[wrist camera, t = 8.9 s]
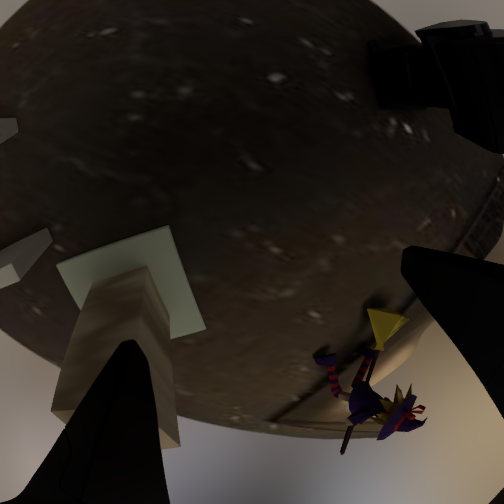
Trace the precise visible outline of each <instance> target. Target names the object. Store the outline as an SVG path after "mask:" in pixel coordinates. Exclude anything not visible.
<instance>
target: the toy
mask: <svg viewBox="0 0 504 504" xmlns="http://www.w3.org/2000/svg"><path fill="white" fill-rule="evenodd" d="M367 310H368V314H369V317H370V320H371V324H372V327H373V331H374V334H375V338H376V344H375V345H374V346H373V347H372V348H373V349H375V351H374V350H372V349H369V348H364V347H361V349H360V353H361V354H362V355H363V356H364V357H365V358H364V360H363V362H362V364H361V366H360V368H359V370H358V372H357V374H356V376H355V378H354V380H353V382H352V385H351V386H352V388H353V390H352V391H351V393H348V392H343V391H342V389H341V387H340V385H339V381H338V377H337V373H336V369H335V365H334V363H336V353H333V354H328V355H319V356H316V357H314V360H315V362H316V363H317V364H319V365H327V367H328V372H329V378H330V384H331V390H332V395H333V396H334V397H337V398H339V399H342V400H345V401H348V402H349V410H350V412H351V413H352V414H351V415H350V416H349V417H348V418H346V419H345V422H346V426H348V429H347V431H346V434H345V437H344V441H343V444H342V447H341V450H340V453H341V455H343V454H344V453H345V450H346V447H347V444H348V442H349V439H350V436H351V433H352V430H353V427H354V426H355V425H357V424H358V423H360V424H361V423H363V422H364V421H365V420H367V419H368V418H371V419H372V420H374V421H375V422H377V423H378V424H382V425H384V426H383V427H382V429H381V432H380V434H379V436H378V438H377V440H384V439H385V438H386V437H388V436H389V435H391V434H392V433H394V432H395V431H401V432H409V431H411V430H414V429H416V428H418V427H421V426H423V424H424V423H425V421H426V419H427V418H426V419H425V420H424V421H420V420H416V419H415V417H416V416H415V415H414V414H412V413H419V414H422V413H423V411H424V410H425V407H424V406H422V405H419V406H417V407H415V408H413V409H412V407H413V405H414V403H415V400H416V398H417V396H415V395H412V394H411V393H412V392H411V391H412V390H411V385H410V388H409V390H408V392H407V395H406V397H405V399H404V398H403V395H402V392H401V390H400V389H399V387H398V385H397V386H396V393H395V397H394V402H391V401H390V400H389V398H387V397H385V398H384V399H383V398H382V397H381V396H380V395H379V394H377V393H376V392H374V391H373V390H372V388H371V386H370V384H369V381H370V378H371V374H372V372H373V369H374V366H375V363H376V360H377V357H378V354H379V351H380V350H381V351H384V348H383V344H384V343H385V341H386V340H387V339H388V338H390V337H391V336H392V335H393V334H394V333H395V332H396V331H397V330H398V329H399V328H401V327H402V326H403V325H404V324H405V323H406V322H407V321H408V320H409V319H408V318H406V317H404V316H403V315H401V314H400V313H398V312H397V311H395V310H393V309H392V308H367ZM371 359H372V362H371V365H370V368H369V372H368V375H367V378H366V381H362V380H363V377H364V375H365V373H366V371H367V368H368V366H369V364H370V361H371ZM416 408H420V409H422V410H423V411H412V410H414V409H416ZM411 412H412V413H411ZM374 415H375V416H376V417H377V418H373V417H372V416H374ZM379 417H380V418H379Z"/></svg>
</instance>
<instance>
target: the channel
mask: <svg viewBox="0 0 504 504" xmlns="http://www.w3.org/2000/svg"><path fill="white" fill-rule="evenodd" d="M18 132H19V131H18V126H17V120H16V118H0V144H1V143H3V142H4V141H6V140H7V139H9V138H10V137H12V136H13V135H15V134H16V133H18ZM52 242H53V240H52V238H51V235H50V233H49V230H48V228H45V229H43V230H41V231H38V232H36V233H34V234H32V235H30V236H28V237H26V238H24V239H22V240H20V241H18V242H16V243H14V244H12V245H10V246H8V247H6V248H4V249H2V250H0V289H1V288H3V287H6V286H8V285H10V284H13V283H15V282H18V281H20V280H21V279H22V277H23V276H24V275H25V274H26V272H27V271H28V270H29V269H30V267H31V266H32V265H33V264H34V263H35V261H36V260H37V259H38V258H39V257H40V255H41V254H42V253H43V252H44V251H45V250H46V249H47V247H48V246H49V245H50V244H51V243H52Z"/></svg>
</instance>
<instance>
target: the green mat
mask: <svg viewBox="0 0 504 504" xmlns="http://www.w3.org/2000/svg"><path fill="white" fill-rule="evenodd" d="M56 266H57V268H58V270H59V272H60V274H61V276H62V278H63V280H64V282H65V284H66V286H67V287H68V289H69V291H70V293H71V295H72V296H73V298H74V300H75V302H76V303H77V305H78V307H79V308H80V310H81V309H82V307H83V304H84V302H85V299H86V297H87V294H88V292H89V290H90V287H91V285H92V283H94V282H97V281H100V280H103V279H106V278H109V277H113V276H116V275H119V274H122V273H125V272H128V271H132V270H135V269H138V268H141V267H144V266H148V268H149V271H150V273H151V276H152V278H153V280H154V282H155V285H156V287H157V289H158V292H159V294H160V296H161V298H162V300H163V302H164V305H165V307H166V309H167V311H168V313H169V315H170V339H173V338H176V337H180V336H184V335H187V334H191V333H195V332H198V331H202V330H205V329H206V326H205V323H204V321H203V318H202V316H201V313H200V311H199V308H198V306H197V303H196V301H195V298H194V295H193V293H192V290H191V287H190V285H189V282H188V279H187V277H186V274H185V271H184V268H183V266H182V263H181V260H180V257H179V254H178V251H177V248H176V245H175V243H174V240H173V237H172V234H171V230H170V227H169V225H166V226H163V227H160V228H157V229H153V230H150V231H147V232H144V233H141V234H138V235H135V236H132V237H129V238H126V239H123V240H120V241H117V242H114V243H111V244H108V245H105V246H102V247H99V248H97V249H94V250H91V251H88V252H85V253H83V254H80V255H77V256H74V257H72V258H69V259H66V260H64V261H61V262H58V263H57V264H56Z"/></svg>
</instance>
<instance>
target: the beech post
mask: <svg viewBox="0 0 504 504" xmlns="http://www.w3.org/2000/svg"><path fill="white" fill-rule="evenodd" d="M129 339H134V340H136V342H137V343H138V345H139V346H140V348H141V349H142V351H143V352H144V354H145V355H146V357H147V359H148V362H149V368H150V374H151V380H152V386H153V391H154V396H155V402H156V408H157V417H158V428H159V437H160V445H161V449H168V448H175V447H180V438H179V431H178V423H177V415H176V406H175V396H174V385H173V373H172V358H171V340H170V315H169V313H168V311H167V309H166V307H165V305H164V302H163V300H162V298H161V296H160V294H159V292H158V289H157V287H156V285H155V282H154V280H153V278H152V276H151V273H150V271H149V268H148V266H144V267H141V268H138V269H135V270H132V271H128V272H125V273H122V274H119V275H116V276H113V277H109V278H106V279H103V280H100V281H97V282H94V283H92V285H91V287H90V290H89V292H88V294H87V297H86V299H85V302H84V304H83V307H82V309H81V312H80V314H79V317H78V320H77V322H76V325H75V328H74V331H73V333H72V336H71V339H70V342H69V345H68V348H67V351H66V355H65V358H64V361H63V364H62V368H61V371H60V375H59V379H58V382H57V386H56V390H55V394H54V398H53V403H52V407H51V412H52V413H53V414H54V415H56V416H57V417H58V418H59V419H60V420H61V421H63V422H64V423H65V424H67V423H68V421H69V419H70V418H71V416H72V415H73V413H74V411H75V410H76V408H77V407H78V405H79V404H80V402H81V400H82V399H83V397H84V396H85V394H86V393H87V391H88V390H89V388H90V387H91V385H92V384H93V382H94V381H95V379H96V378H97V376H98V375H99V373H100V372H101V370H102V369H103V367H104V366H105V364H106V363H107V361H108V360H109V358H110V357H111V356H112V354H113V353H114V351H115V350H116V348H117V347H118V346H119V344H120V343H121V342H122V341H125V340H129Z"/></svg>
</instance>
